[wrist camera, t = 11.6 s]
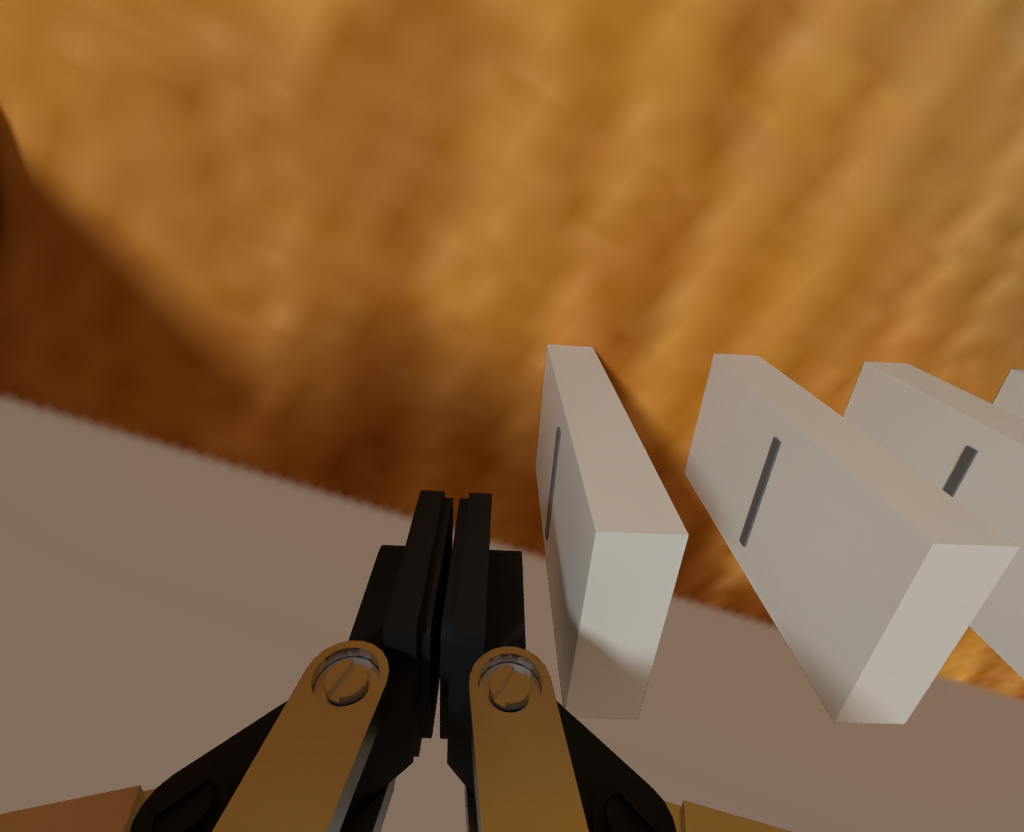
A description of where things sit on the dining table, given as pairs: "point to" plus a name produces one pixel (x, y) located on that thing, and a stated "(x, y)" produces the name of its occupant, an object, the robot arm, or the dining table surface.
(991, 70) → the dining table surface
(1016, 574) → the domino
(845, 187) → the dining table surface
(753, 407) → the domino
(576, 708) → the domino
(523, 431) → the dining table surface
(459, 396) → the dining table surface
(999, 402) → the domino
